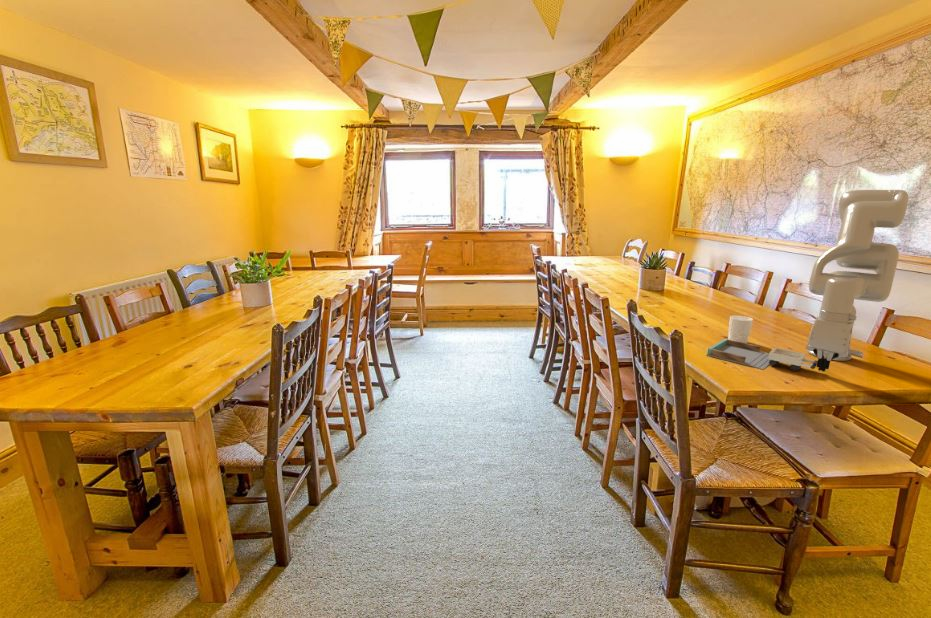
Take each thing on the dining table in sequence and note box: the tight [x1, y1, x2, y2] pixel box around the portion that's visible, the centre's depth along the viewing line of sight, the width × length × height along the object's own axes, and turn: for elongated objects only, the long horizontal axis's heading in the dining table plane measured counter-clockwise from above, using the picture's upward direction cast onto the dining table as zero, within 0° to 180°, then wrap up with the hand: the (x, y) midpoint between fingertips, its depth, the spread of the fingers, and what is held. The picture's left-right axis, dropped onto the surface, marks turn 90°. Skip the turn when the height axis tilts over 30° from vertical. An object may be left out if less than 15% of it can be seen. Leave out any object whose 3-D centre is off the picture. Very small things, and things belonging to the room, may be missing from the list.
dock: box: [706, 338, 770, 370], centre depth 158 cm, size 18×19×3 cm
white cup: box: [727, 315, 754, 344], centre depth 174 cm, size 8×8×10 cm
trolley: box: [768, 347, 818, 372], centre depth 146 cm, size 13×8×5 cm, turn 44°
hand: (821, 369), depth 141 cm, fingers closed
